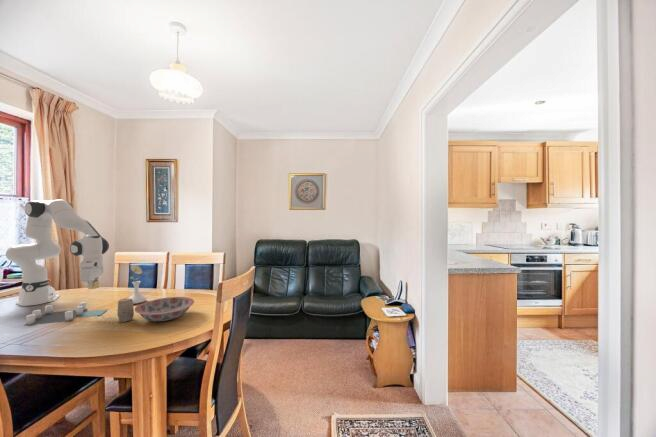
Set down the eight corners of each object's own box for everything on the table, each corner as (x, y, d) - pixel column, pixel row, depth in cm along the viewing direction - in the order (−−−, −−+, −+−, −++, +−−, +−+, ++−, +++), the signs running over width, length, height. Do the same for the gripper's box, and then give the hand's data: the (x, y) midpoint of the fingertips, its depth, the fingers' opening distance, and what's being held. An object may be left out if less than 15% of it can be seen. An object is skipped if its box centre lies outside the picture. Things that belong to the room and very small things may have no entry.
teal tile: (86, 312, 166) (86, 311, 166) (106, 310, 170) (106, 309, 170) (78, 318, 157) (78, 317, 157) (100, 316, 161) (100, 315, 161)
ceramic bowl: (121, 324, 150) (121, 309, 149) (169, 307, 177) (169, 294, 177) (161, 332, 140) (161, 316, 139) (205, 313, 167) (205, 299, 167)
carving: (114, 322, 152) (114, 300, 152) (130, 317, 159) (129, 296, 159) (121, 324, 149) (121, 302, 149) (136, 319, 156) (136, 298, 156)
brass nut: (89, 287, 164) (89, 280, 164) (100, 286, 166) (100, 279, 166) (85, 289, 160) (85, 282, 160) (97, 288, 162) (97, 281, 162)
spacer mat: (43, 313, 163) (43, 305, 163) (90, 309, 171) (90, 301, 171) (20, 326, 145) (20, 317, 144) (74, 321, 152) (74, 312, 152)
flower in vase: (149, 301, 187) (149, 264, 186) (130, 306, 177) (130, 267, 177) (140, 298, 194) (140, 262, 193) (121, 302, 184) (121, 265, 184)
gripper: (94, 259, 172) (94, 282, 172) (77, 265, 152) (78, 290, 153) (106, 259, 174) (106, 281, 174) (92, 264, 155) (92, 289, 155)
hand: (93, 285), depth 163 cm, fingers closed on brass nut, 5 cm apart
